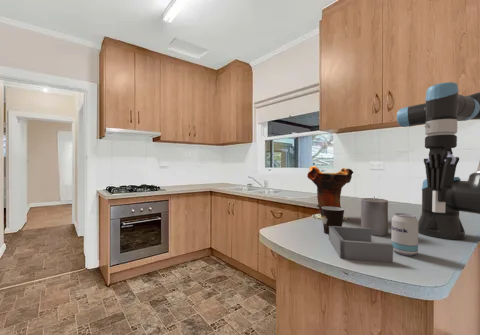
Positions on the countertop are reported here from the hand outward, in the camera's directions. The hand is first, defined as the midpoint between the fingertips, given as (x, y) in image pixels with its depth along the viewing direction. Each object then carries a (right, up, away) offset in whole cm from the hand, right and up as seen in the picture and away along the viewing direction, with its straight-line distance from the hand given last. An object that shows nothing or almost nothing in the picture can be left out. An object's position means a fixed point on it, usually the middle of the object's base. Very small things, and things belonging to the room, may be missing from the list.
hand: (438, 212), depth 73 cm
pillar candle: (-6, -13, +25) cm, 29 cm away
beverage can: (-9, -13, +2) cm, 16 cm away
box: (-23, -13, +5) cm, 27 cm away
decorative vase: (-14, -13, +54) cm, 57 cm away
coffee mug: (-23, -13, +25) cm, 37 cm away
